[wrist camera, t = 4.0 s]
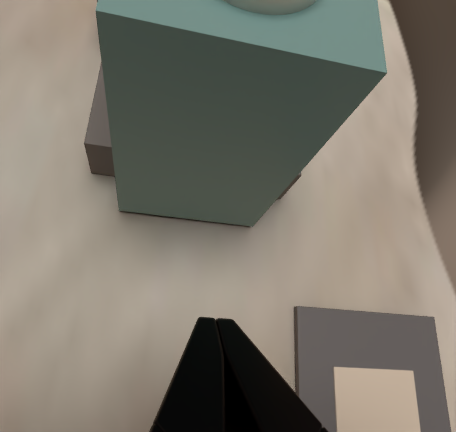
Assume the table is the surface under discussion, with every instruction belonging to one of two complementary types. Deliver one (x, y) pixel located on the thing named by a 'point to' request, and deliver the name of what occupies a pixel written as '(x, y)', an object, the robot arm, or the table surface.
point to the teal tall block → (229, 97)
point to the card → (370, 371)
